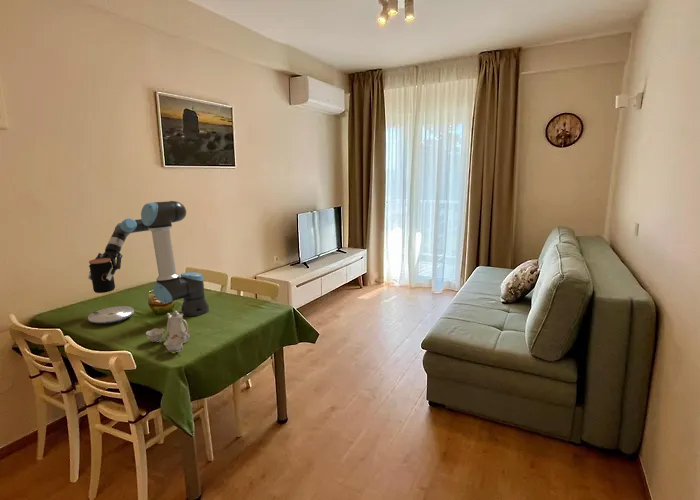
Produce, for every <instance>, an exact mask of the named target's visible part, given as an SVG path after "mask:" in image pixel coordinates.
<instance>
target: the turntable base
mask: <svg viewBox="0 0 700 500" xmlns="http://www.w3.org/2000/svg"><path fill="white" fill-rule="evenodd" d="M128 318H129V317H127V318H125V319H122V320H118V321H114V322H108V323H95V324H96V325H99V326H100V325H101V326H102V325H103V326H104V325H114V324H118V323H121V322H123V321H126V320H128Z"/></svg>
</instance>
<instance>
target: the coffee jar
mask: <svg viewBox="0 0 700 500" xmlns="http://www.w3.org/2000/svg"><path fill="white" fill-rule="evenodd" d="M88 263H89V265H90V267H89V272H91V278H92V280H91V283H92V287H93V288H92V289H93V292H95V294H105V293H108V292H109V293H110V292H112V291H114V290H115V288H116V283H115V277H114V275H113V276H112V278H111V280H108V279H107V278H106V277H107V275H108V273H109V271H110V269H111V268H112V263H111V259H110V258H100V259H95V258H94V259H90V260H89V261H88ZM112 269H113V268H112Z"/></svg>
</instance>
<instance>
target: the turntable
mask: <svg viewBox="0 0 700 500" xmlns="http://www.w3.org/2000/svg"><path fill="white" fill-rule="evenodd" d="M134 313H135V309H134V308H133V307H132V306H127V305H120V306H119V305H118V306H111V307H106V308H102V309H99V310H96V311H92V312H91V313H90V314H88V316H87V320H88V322H90V323H92V324H96V323H108V322H114V321H118V320H122V319H125V318H127V317H128V318H130V317H131V316H132V315H134ZM128 318H127V319H128Z"/></svg>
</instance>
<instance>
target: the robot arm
mask: <svg viewBox="0 0 700 500" xmlns="http://www.w3.org/2000/svg"><path fill="white" fill-rule="evenodd" d="M186 215H187V209H186V207H185V206H184V204H182V203H181V202H179V201H177V200H176V201H175V200H169V201H155V202H147V203H145V204H144V205H143V206H142V208H141V211H140V216H141V217H140V219H134V218H131V217H129V218H128V217H127V218H125V219H124V220H123V221H121V222H118V223H117V224H116V226H115V227H114V230H113V233H112V234H111V236H110V238H109V241H108V242H107V244H106V246H105V248H104V252H103V253H101V252H99V253H98V254H97V255H96V257H95V258H94V259H100V258H110V259H111V261H110V262H111V263H112V268H111V269H110V271H109V273H108V275H107V277H106V278H107V279H108V280H111V278H112V276H114V275H115V273H116V271H117V270H121V266H122V258H123V254H122V253H121V250H122V247H123V246H124V244H125V241H126V240H127V237H128V236H129V235H130V234H134V233H141V232H149V231H150V232H151V235H152V241H153V246H154V247H153V248H154V254H155V259H156V260H155V261H156V266H157V271H158V276H157V277H156V279H155V280H156V283H154V284H153V286H152V290H153V294H154V296H155V298H156V299H157V300H158V301H159V302H160V303H163V304H167V303H172V302H174V301H177V300H181V299H183V301H182V305H181V309H180V311H181V312H180V313H181V314H183V316H185V317H195V316H201V315H203V314H206V313H208V312H209V311H210V306H209V303H208V300H207V299H206V295H205V284H204V283H205V282H204V276H203V274H202V273H200V272H196V271H195V272H194V271H193V272H190V271H188V272H182V273H181V274H178V273H177V272H176V264H175V257H174V252H173V251H174V250H173V246H172V239H171V232H170V230H171V228H172V227H173V225H172V223H177V222H181V221H182V220H184V219H185V218H186ZM88 267H89V268H90V264H89V265H88ZM87 279H89V280H90V281H92V278H91V272H90V271H89V273H88V276H87Z"/></svg>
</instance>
